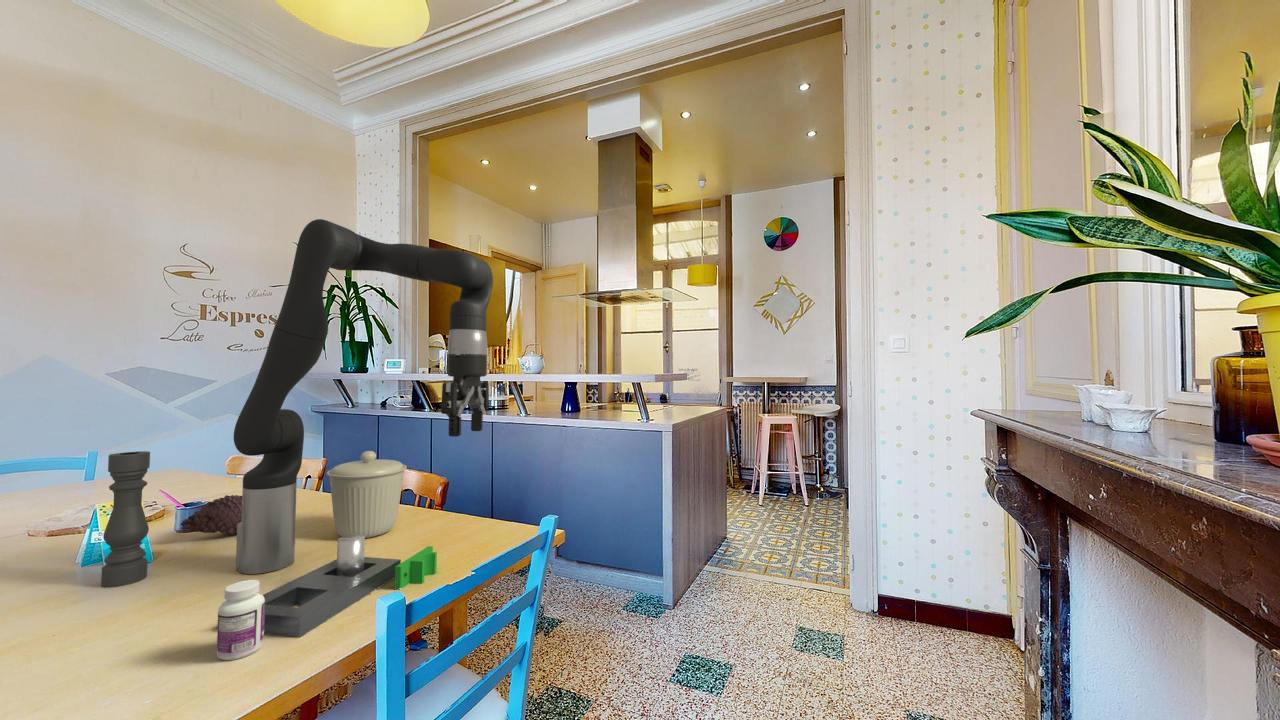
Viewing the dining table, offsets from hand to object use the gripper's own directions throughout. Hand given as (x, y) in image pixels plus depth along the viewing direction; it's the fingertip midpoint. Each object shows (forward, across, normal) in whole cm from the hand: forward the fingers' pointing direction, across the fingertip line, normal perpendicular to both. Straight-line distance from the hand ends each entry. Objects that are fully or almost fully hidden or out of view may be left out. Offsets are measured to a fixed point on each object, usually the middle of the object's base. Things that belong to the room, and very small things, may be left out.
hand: (466, 433), depth 96 cm
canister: (+30, -23, -40) cm, 55 cm away
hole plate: (+29, +11, -21) cm, 38 cm away
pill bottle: (+30, +28, -20) cm, 45 cm away
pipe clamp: (+30, 0, -10) cm, 31 cm away
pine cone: (+30, -15, -73) cm, 80 cm away
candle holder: (+30, +11, -66) cm, 73 cm away
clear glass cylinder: (+29, +5, -21) cm, 36 cm away
